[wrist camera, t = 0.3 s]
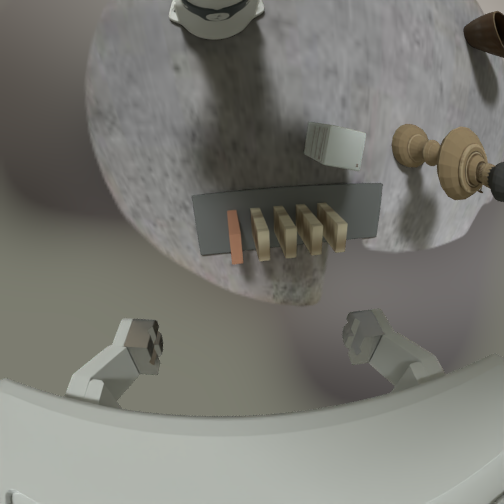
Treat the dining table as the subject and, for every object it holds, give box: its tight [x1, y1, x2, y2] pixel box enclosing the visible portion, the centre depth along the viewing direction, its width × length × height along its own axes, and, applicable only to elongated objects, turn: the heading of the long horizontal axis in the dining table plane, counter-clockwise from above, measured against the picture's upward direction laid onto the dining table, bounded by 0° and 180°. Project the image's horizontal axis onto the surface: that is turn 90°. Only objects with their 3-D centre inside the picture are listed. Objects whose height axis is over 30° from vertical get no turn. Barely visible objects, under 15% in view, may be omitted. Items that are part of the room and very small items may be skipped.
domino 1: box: [227, 210, 243, 264], centre depth 54 cm, size 6×2×12 cm, turn 4°
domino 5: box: [317, 203, 348, 253], centre depth 55 cm, size 6×2×12 cm, turn 4°
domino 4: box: [296, 204, 323, 256], centre depth 55 cm, size 6×2×12 cm, turn 4°
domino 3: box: [273, 206, 297, 258], centre depth 55 cm, size 6×2×12 cm, turn 4°
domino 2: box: [250, 208, 270, 261], centre depth 54 cm, size 6×2×12 cm, turn 4°
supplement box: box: [304, 122, 366, 171], centre depth 48 cm, size 7×7×13 cm
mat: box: [192, 183, 383, 255], centre depth 61 cm, size 14×44×1 cm, turn 94°
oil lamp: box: [392, 124, 504, 202], centre depth 37 cm, size 15×15×40 cm
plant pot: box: [464, 11, 504, 58], centre depth 30 cm, size 15×15×16 cm
